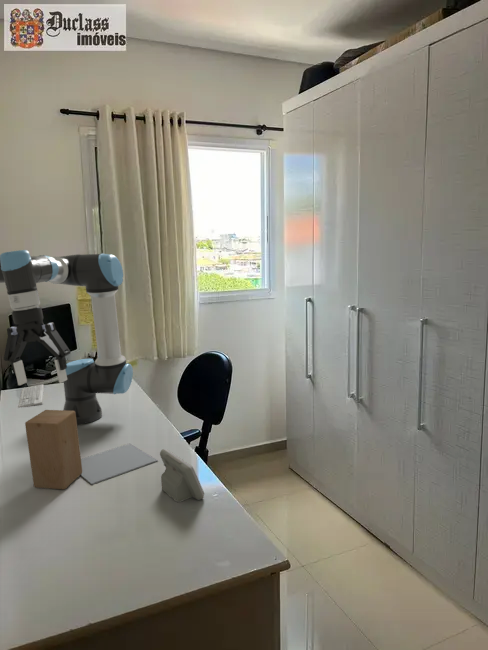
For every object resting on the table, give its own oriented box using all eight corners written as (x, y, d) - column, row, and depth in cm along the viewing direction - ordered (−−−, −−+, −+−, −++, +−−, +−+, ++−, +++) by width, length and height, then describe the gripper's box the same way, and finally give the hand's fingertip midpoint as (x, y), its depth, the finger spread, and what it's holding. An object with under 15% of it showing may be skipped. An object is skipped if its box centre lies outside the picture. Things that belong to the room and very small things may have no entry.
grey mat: (129, 444, 168) (129, 443, 168) (157, 461, 155) (157, 460, 155) (67, 464, 154) (66, 463, 154) (91, 484, 141) (91, 483, 141)
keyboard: (20, 390, 235) (20, 386, 235) (43, 387, 239) (43, 383, 239) (16, 409, 208) (16, 404, 208) (42, 405, 212) (42, 401, 212)
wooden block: (64, 490, 138) (56, 423, 134) (33, 488, 140) (24, 422, 136) (83, 472, 147) (75, 410, 143) (53, 471, 149) (45, 409, 145)
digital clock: (206, 501, 131) (205, 464, 129) (174, 509, 127) (172, 471, 125) (186, 475, 145) (185, 442, 143) (157, 482, 141) (155, 448, 139)
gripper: (-22, 314, 133) (-4, 389, 136) (56, 305, 125) (72, 384, 129) (-1, 309, 140) (15, 380, 144) (73, 301, 133) (88, 375, 136)
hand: (42, 382), depth 136 cm, fingers open, 13 cm apart
